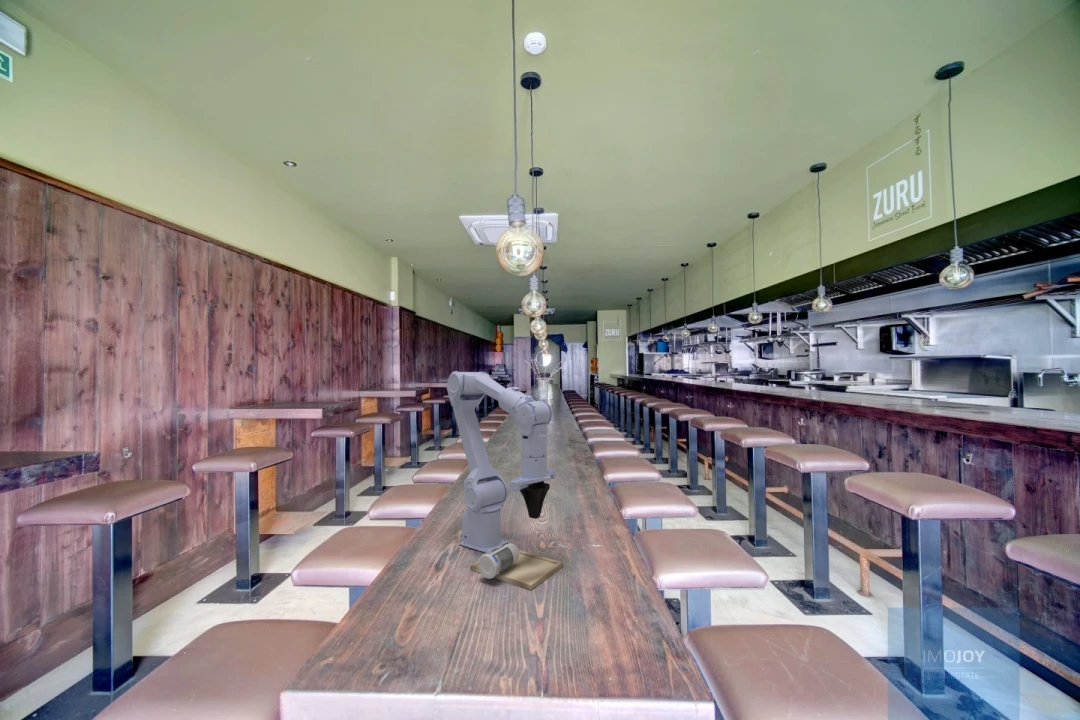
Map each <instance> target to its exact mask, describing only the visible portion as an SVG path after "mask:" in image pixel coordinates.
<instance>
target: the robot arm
mask: <svg viewBox="0 0 1080 720" xmlns="http://www.w3.org/2000/svg"><path fill="white" fill-rule="evenodd" d="M445 387H446V391H447V394H448V398H449V402H450V405H451V407H452V411H453V414H454V418H455V421H456V424H457V429H458V431H459V435H460V440H461V444H462V447H463V451H464V454H465V458H466V462H467V465H468V468H469V469H468V470H469V474H468V475H467V477H466V478H465V479H464V481H463V484H462V485H463V488H464V489H463V490H464V501H465V504H466V506H467V507H466V508H465V510H464V511H463V514H462V518H461V542H459V545H460V546H463V547H466V548H469V549H472V550H475V551H479V552H482V553H484V554H486V553H487V552H489V551H491V550H493V549H495V548H497V547H499V546H501V545H506V544H508V543H509V540H508V539H504V538H502V508H503V507H504V503H505V502H506V501H507V499H508V496H509V491H511V492H516V493H517V492H520V493H521V496H522V497H523V500H524V502H525V506H526V509H527V513H528V518H530V519H535V520H537V519H539V518H540V517H541V514H542V509H543V505H544V501H545V499H546V497H547V494H548V491H549V490H550V483H547V482H549V481H551V480H553V479H556V478H557V475H556V472H557V471H556V469H550V468H548V430H547V429H548V425H549V424H550V423H551V421H552V419H553V410H552V407H551V406H550V404H549V403H548V402H547V400H544V399H540V400H535V399H534V397H533V396H532V395H527V394H525V393H524V392H522V391H520V388H519V387H518V386H512V387H507V388H506V387H504V386H503V385H501V384H500V383H499V382H497V381H496V380H494V379H493V378H492V377H491V376H490V374H488V373H486V372H485V371H478V372H477V371H457V370H456V371H452V372H451V373H450V374H449V376H448V380H447V383H446V385H445ZM485 395H487V396H489V397H490V398H492V399H494V400H495V401H497V402H498V406H499V408H500V409H501V410H503V411H505V412H506V413H507V414H510V416H512V417H514V418H515V420H516V423H517V425H518V432H519V434H520V437H521V439H520V440H521V446H520V447H521V452H520V453H521V456H520V458H521V460H520V461H521V463H520V464H521V465H520V466H521V469H520V470H521V473H520V475H519V476H517V477H516V478H514V479H512V480H510V481H509V484H510V485H509V487H510V488H509V489H508V486H507V484H506V482H505V480H504V479H503V476H502V473H501V471H499V470H498V469H496V468H495V467H493V466H492V465H491V462H490V460H489V455H488V452H487V448H486V445H485V441H484V438H483V435H482V430H481V428H480V423H479V421H478V418H477V414H476V410H475V409H476V408H477V406H479V405H480V404H481V402H482V400H483V399H484V397H485Z"/></svg>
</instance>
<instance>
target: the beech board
mask: <svg viewBox="0 0 1080 720" xmlns="http://www.w3.org/2000/svg"><path fill="white" fill-rule="evenodd" d="M518 551H519V558H518V560H517V561H516V562H515V563H513V565H512V566H511V567H510V568H508V569H507V570H505V571H503V572H502V573H500V574H498V575H497V576H495V577H493V578H494V579H496V580H499V581H502V582H505V583H508V584H511V585H514V586H517V587H519V588H522V589H525V590H528V591H533V590H534V589H535V588H536V587H538V586H540V585H541V584H542V583H543V582H545V581H546V580H547V579H549V578H550V577H551V576H553V575H554V574H556V573H557V572H558V571H559V570H561V569H562V568H564V566H563V565H564V564H563V563H564V562H562V561H560V560H556V559H552V558H548V557H545V556H541V555H538V554H534V553H531V552H527V551H524V550H520V549H518ZM478 563H479V560H477V561H475V562H473V563H471V564H470V569H469V570H471V571H473V572H475V573H476V572H477V573H479V574H481V572H480V570H479V566H478ZM493 578H492V579H493Z"/></svg>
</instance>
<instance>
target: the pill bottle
mask: <svg viewBox="0 0 1080 720" xmlns="http://www.w3.org/2000/svg"><path fill="white" fill-rule="evenodd" d="M518 550H519V548H518V547H517V545H516V544H514V543H511V542H508V543H507V544H505V545H501V546H499V547H497V548H495V549H493V550H491V551H489V552H487V553H484V554H482V555H481V556H480V557H479V559H478V561H479V563H478V566H479V570H480V572H481V573H480V574H481V575H482V576H483V578H485V579H487V580H491V579H493V577H495V576H497V575H498V574H500V573H502V572H503V571H505V570H507V569H508V568H510V567H511V566H512V565H513V563H515V562H516V561H517V560H518V558H519V551H518Z"/></svg>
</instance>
